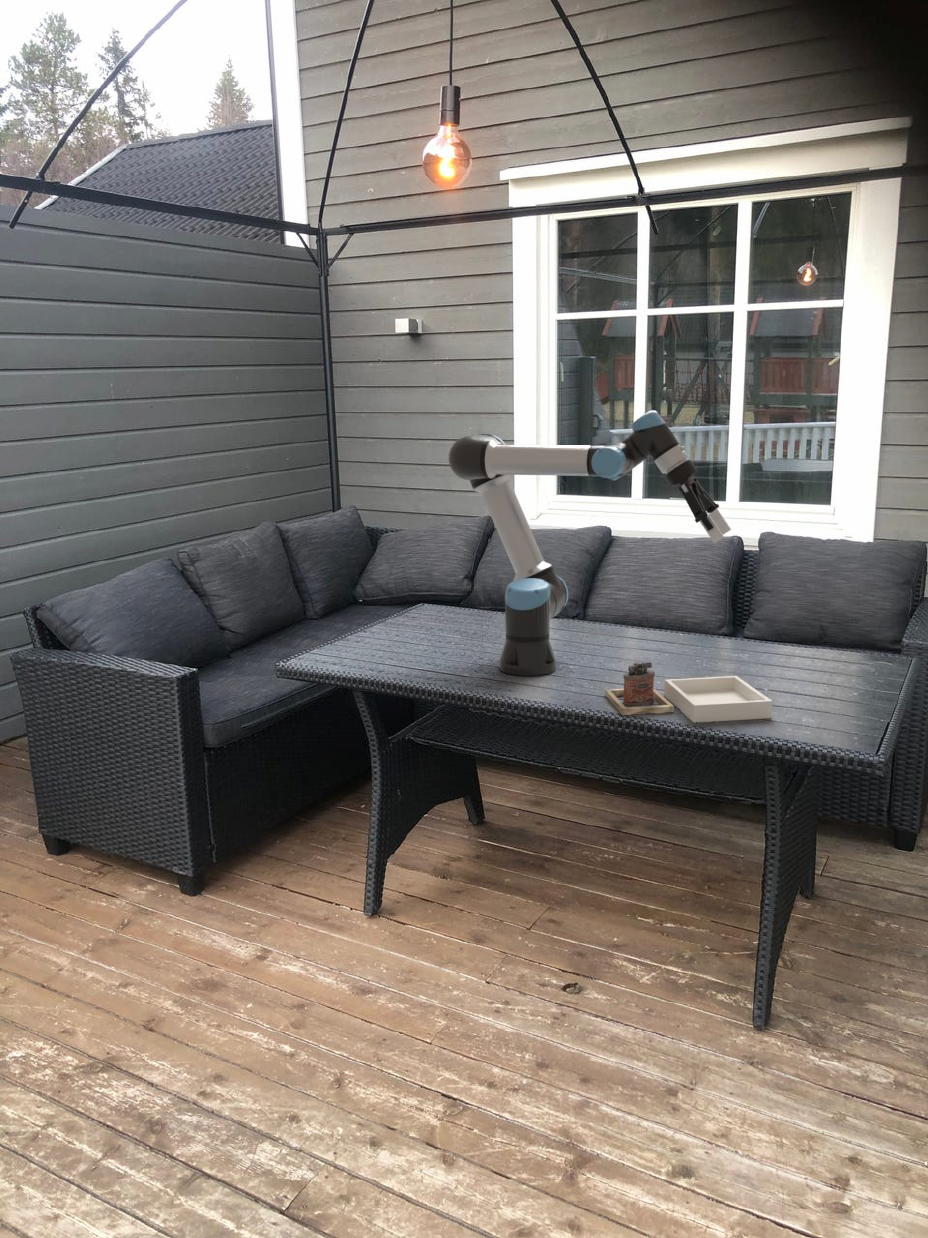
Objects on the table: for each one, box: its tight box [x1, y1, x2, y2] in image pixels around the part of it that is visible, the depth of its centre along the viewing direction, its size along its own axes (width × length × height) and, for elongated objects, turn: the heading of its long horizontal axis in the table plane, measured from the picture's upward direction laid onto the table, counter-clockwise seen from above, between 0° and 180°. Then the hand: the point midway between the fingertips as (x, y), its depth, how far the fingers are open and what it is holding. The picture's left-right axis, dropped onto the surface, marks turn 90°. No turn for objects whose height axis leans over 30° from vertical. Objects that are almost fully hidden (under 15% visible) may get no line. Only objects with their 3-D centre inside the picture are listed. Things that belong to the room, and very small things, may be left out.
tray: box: [663, 675, 773, 724], centre depth 224 cm, size 18×20×4 cm
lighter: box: [622, 661, 656, 707], centre depth 226 cm, size 8×3×10 cm, turn 113°
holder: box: [604, 687, 675, 716], centre depth 227 cm, size 12×15×2 cm
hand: (723, 536), depth 244 cm, fingers open, 13 cm apart
